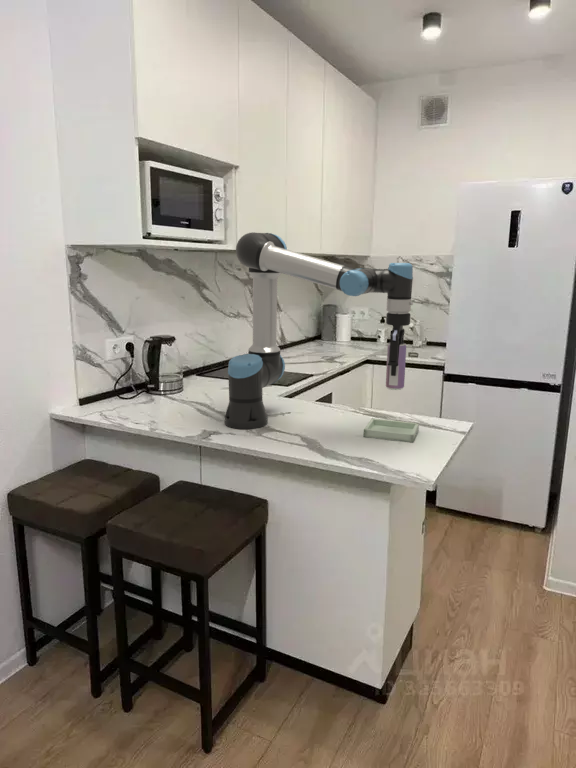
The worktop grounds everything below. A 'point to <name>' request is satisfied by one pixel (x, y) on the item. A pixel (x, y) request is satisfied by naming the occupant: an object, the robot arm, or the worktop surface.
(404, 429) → the tray
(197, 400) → the worktop surface
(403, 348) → the beverage can
